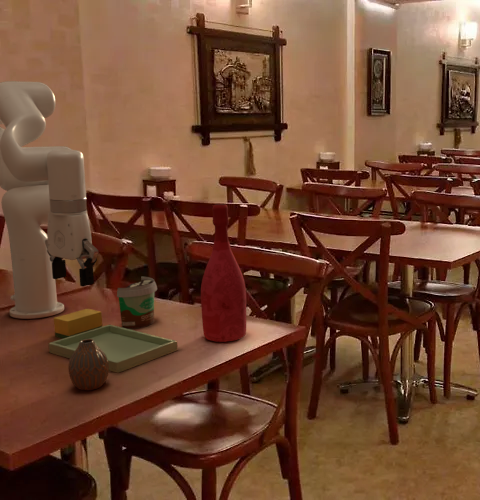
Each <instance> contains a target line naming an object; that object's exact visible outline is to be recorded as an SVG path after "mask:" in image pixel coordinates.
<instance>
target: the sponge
mask: <svg viewBox="0 0 480 500" xmlns="http://www.w3.org/2000/svg"><path fill="white" fill-rule="evenodd" d="M53 327H54V337H56V338H59V339H64V338H67V337H70V336H73V335H77V334H80V333H83V332H87V331H90V330H93V329H96V328H100V327H103V316H102V311H100V310H96V309H90V308H85V309H80V310H77V311H73V312H70V313H66V314H63V315H59V316H55V317H53Z"/></svg>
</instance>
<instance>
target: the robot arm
mask: <svg viewBox="0 0 480 500" xmlns="http://www.w3.org/2000/svg"><path fill="white" fill-rule="evenodd" d="M56 105H57V104H56V97H55V93H54V92H53V90H52V89H51V87H50V86H49V85H47V84H46V83H43V82H40V81H18V80H17V81H16V80H15V81H14V80H10V81H9V80H7V81H6V80H5V81H1V82H0V125H4V127H5V128H4V127H1V126H0V188H1V189H2V190H3V191H6V192H5V193H4V194H3V195H2V197H1V203H0V204H1V209H2V210H1V211H2V214H3V217H4V222H5V224H6V228H7V233H8V234H7V235H8V241H9V249H10V259H11V267H12V268H11V269H12V280H13V289H14V291H13V292H14V293H13V294H12V295H10V301H13V302H14V306H12V307H11V308H10V309H9V311H8V312H9V316H10V317H11V318H15V319H21V320H29V319H30V320H31V319H41V318H48V317H51V316H55V315H58V314H60V313H62V312H64V310H65V304H64V303H62V302H60V301H58V295H57V284H56V283H57V281H56V280H59V279H63V278H66V277H67V264H66V260H68V261H77V263H78V264H79V266H80V268H79V269H78V272H79V274H78V275H79V285H80V287H87V286H91V285H94V284H95V278H94V276H95V275H94V267H95V266H96V263H97V262H98V259H97V258H98V256H99V253H100V251H99V249H97V247H95V246H94V245H93V242H92V232H91V231H92V230H91V227H90V226H91V225H90V219H89V215H88V207H87V205H88V203H87V189H86V172H85V157H84V154H83V153H82V152H81V150H77V149H72V148H70V147H68V146H63V145H59V146H58V145H55V146H27V145H28V144H31V143H33V142H35V141H36V140H38V139H39V138H40V137H41V136H43V134H44V132H45V130H46V127H47V122H46V119H47V118H49V117H50V116H52V115H53V114H54V112H55V109H56ZM24 146H25V147H24ZM46 224H47V231H46V232H47V233H46V232H45V231H44V230H43V229H42V227H41V226H42V225H46ZM84 259H85V260H84Z"/></svg>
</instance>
